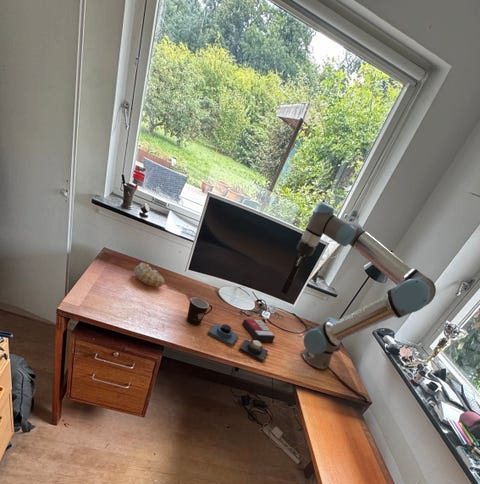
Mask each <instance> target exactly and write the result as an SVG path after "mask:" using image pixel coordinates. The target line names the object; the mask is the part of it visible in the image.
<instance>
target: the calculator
mask: <svg viewBox="0 0 480 484" xmlns="http://www.w3.org/2000/svg"><path fill="white" fill-rule="evenodd" d="M241 324H242V327H244V328H245V330H246V331H247V332H248V333H249V334H250V335H251V339H253V341H254V340H257V341H259V342H261V343H273V341H274V339H275V338H276V336H275V334H274V333H273V332H272V331H271V329H269V327H268V326H267V325H266V324H265V322H263V321H262V320H261V319H251V318H245V319H243V321H242V323H241Z"/></svg>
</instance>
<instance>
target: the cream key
mask: <svg viewBox="0 0 480 484" xmlns="http://www.w3.org/2000/svg"><path fill="white" fill-rule="evenodd" d="M252 341H253V342H252V347H253V348H255V349H260V348H261V346H263V345H262V344H263V343H262V342H259V341H257V340H254V339H253V340H252Z"/></svg>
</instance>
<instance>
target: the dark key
mask: <svg viewBox="0 0 480 484" xmlns="http://www.w3.org/2000/svg"><path fill="white" fill-rule="evenodd" d="M221 325H222V327H221V330H222V331H223V332H225V333H230V330H232V326H230V325H229V324H225V323H224V324H221Z"/></svg>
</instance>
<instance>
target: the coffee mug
mask: <svg viewBox="0 0 480 484" xmlns="http://www.w3.org/2000/svg"><path fill="white" fill-rule="evenodd" d="M188 305H189V306H188V312H187V315H186V321H187V323H188V324H190V325H192V326H200V325H201V323H202V322H203V320H204V317H205V316H206V315H208V314H209V313H211V312H212V310H213V306H212V305H211V304H209V303H208V302H207V301H206V300H205V299H203V298H200V297H191V298H190V300H189V304H188ZM209 307H210V309H209ZM208 309H209V310H208Z"/></svg>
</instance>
